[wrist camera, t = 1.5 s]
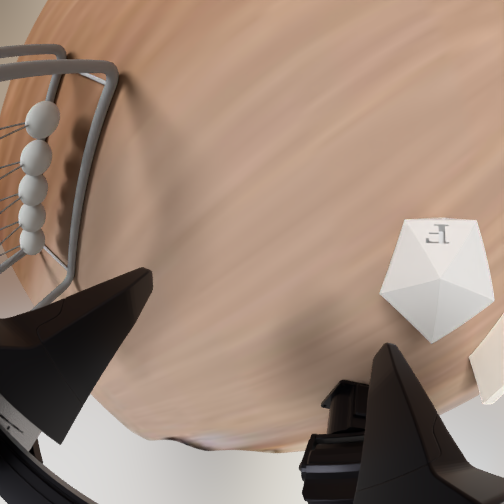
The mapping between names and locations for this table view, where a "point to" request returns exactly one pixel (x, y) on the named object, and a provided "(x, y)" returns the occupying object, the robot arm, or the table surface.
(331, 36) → the table surface
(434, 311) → the die
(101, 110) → the newton's cradle
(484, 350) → the board
